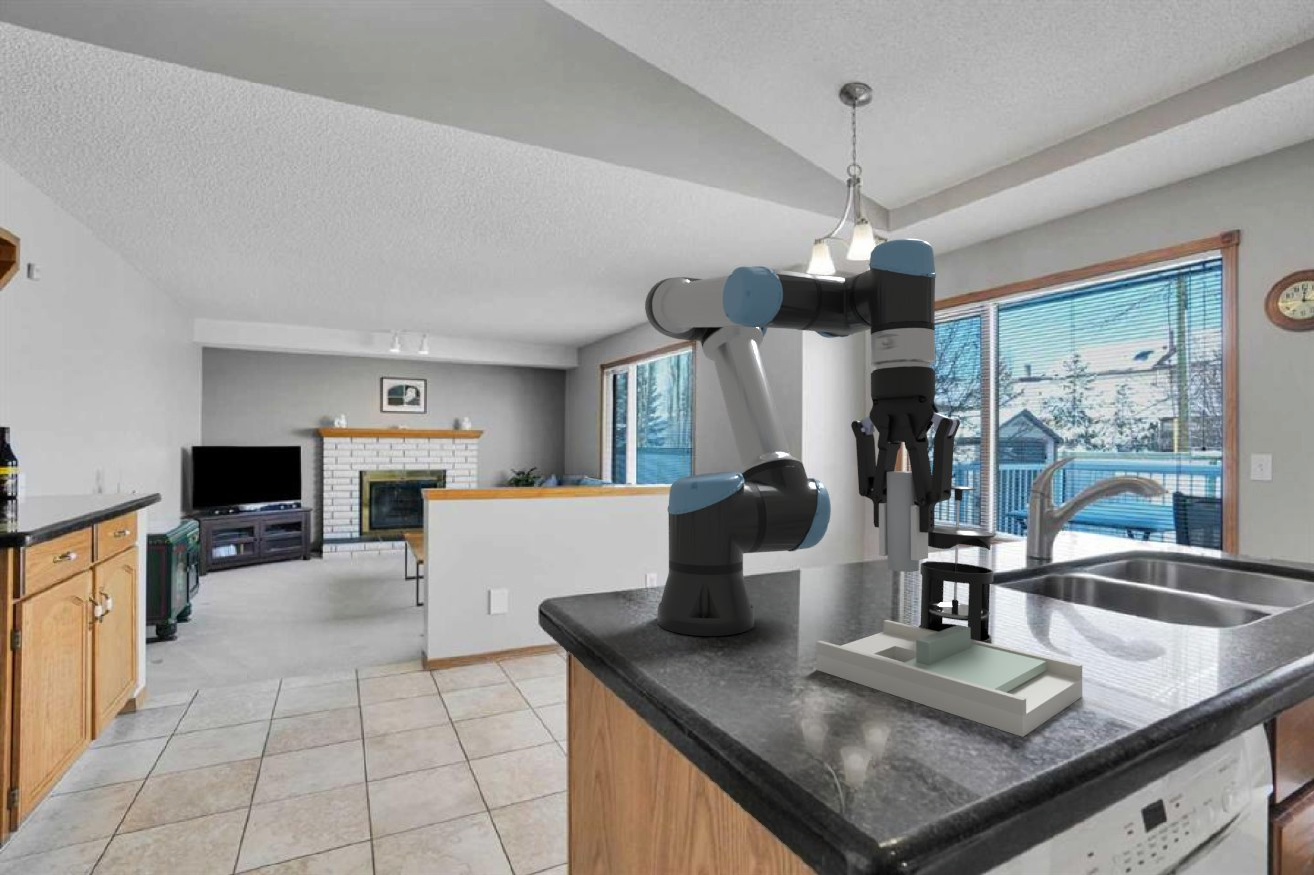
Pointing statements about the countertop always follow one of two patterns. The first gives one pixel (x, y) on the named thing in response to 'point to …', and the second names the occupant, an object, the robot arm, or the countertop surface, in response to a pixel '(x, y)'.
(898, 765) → the countertop surface
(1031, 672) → the lid
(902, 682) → the housing
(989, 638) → the french press
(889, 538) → the pin
